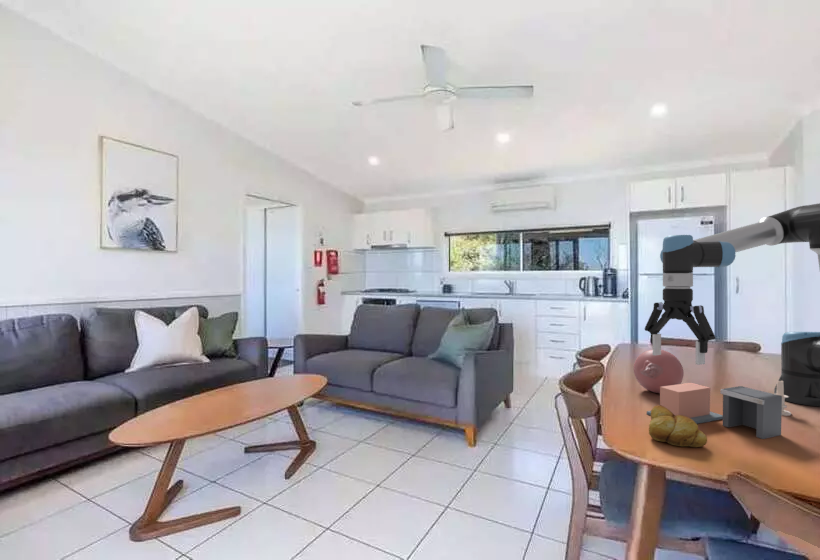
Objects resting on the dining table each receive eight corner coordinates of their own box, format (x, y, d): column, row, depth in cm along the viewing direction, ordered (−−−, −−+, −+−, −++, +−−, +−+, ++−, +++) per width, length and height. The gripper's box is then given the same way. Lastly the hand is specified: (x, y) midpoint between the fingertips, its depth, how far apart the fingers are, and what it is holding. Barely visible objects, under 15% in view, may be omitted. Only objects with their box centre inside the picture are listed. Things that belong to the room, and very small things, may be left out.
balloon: (619, 393, 148) (620, 350, 148) (644, 383, 160) (644, 344, 160) (667, 404, 136) (668, 357, 136) (690, 393, 148) (690, 350, 148)
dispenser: (739, 421, 121) (740, 385, 120) (782, 435, 111) (782, 396, 110) (719, 425, 118) (720, 388, 117) (761, 439, 108) (762, 399, 108)
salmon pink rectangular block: (690, 408, 130) (690, 382, 130) (709, 414, 125) (710, 387, 124) (659, 413, 126) (660, 386, 126) (678, 419, 120) (678, 392, 120)
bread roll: (710, 444, 105) (711, 413, 105) (700, 456, 99) (701, 423, 99) (654, 430, 115) (654, 401, 115) (641, 440, 108) (641, 409, 108)
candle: (766, 412, 128) (767, 378, 128) (770, 408, 132) (771, 376, 131) (789, 417, 124) (790, 382, 124) (792, 413, 128) (793, 379, 127)
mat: (688, 407, 134) (688, 404, 134) (724, 418, 123) (724, 415, 123) (646, 414, 127) (646, 411, 127) (680, 426, 117) (680, 423, 117)
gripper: (632, 286, 133) (632, 352, 134) (711, 289, 110) (711, 369, 111) (649, 285, 136) (649, 350, 137) (731, 289, 113) (730, 367, 113)
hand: (677, 359), depth 124 cm, fingers open, 13 cm apart
